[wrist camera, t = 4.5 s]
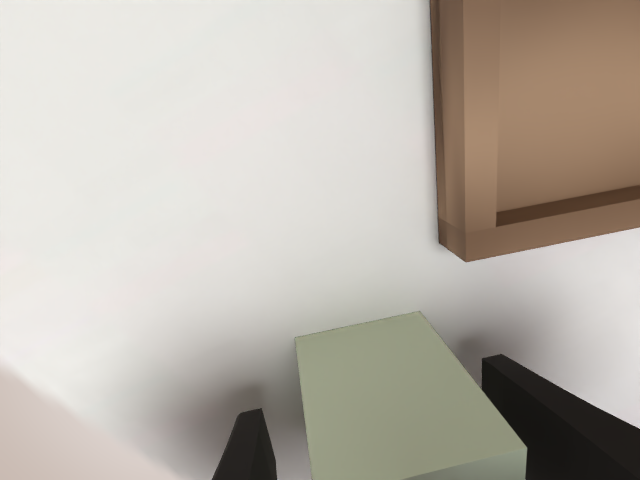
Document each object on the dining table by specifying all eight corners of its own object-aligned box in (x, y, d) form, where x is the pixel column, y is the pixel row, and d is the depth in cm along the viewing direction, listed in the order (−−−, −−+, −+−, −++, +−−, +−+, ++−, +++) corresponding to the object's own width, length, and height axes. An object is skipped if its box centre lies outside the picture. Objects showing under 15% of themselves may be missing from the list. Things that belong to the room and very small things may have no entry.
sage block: (425, 407, 13) (518, 578, 8) (314, 433, 12) (343, 627, 8) (419, 310, 11) (526, 447, 7) (294, 336, 11) (314, 501, 6)
